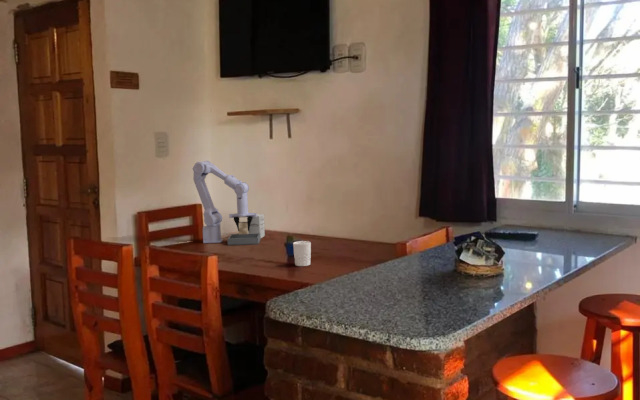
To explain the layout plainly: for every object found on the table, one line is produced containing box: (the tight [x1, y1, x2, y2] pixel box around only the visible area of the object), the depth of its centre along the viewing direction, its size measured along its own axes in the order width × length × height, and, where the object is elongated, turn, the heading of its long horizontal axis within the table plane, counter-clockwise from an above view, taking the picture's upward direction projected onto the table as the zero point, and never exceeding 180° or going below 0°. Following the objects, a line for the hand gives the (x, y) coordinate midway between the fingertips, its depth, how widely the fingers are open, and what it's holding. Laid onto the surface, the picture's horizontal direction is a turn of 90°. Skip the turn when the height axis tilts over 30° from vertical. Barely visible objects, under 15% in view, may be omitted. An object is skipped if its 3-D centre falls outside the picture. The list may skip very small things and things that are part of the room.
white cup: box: [292, 240, 312, 267], centre depth 290 cm, size 8×8×10 cm
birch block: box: [238, 221, 249, 234], centre depth 348 cm, size 4×4×6 cm
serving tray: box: [227, 233, 262, 246], centre depth 350 cm, size 16×14×4 cm
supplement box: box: [248, 213, 266, 239], centre depth 364 cm, size 7×7×13 cm
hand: (243, 230), depth 348 cm, fingers closed on birch block, 4 cm apart
